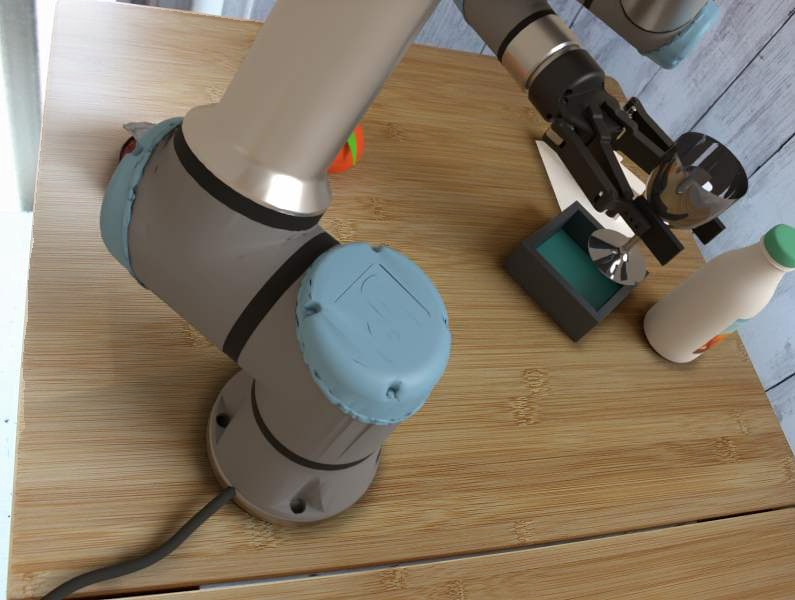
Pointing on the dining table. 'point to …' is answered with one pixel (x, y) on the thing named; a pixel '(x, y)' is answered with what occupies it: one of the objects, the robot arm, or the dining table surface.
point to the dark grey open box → (566, 272)
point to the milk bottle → (720, 296)
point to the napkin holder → (571, 192)
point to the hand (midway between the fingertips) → (694, 246)
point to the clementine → (349, 152)
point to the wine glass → (675, 200)
